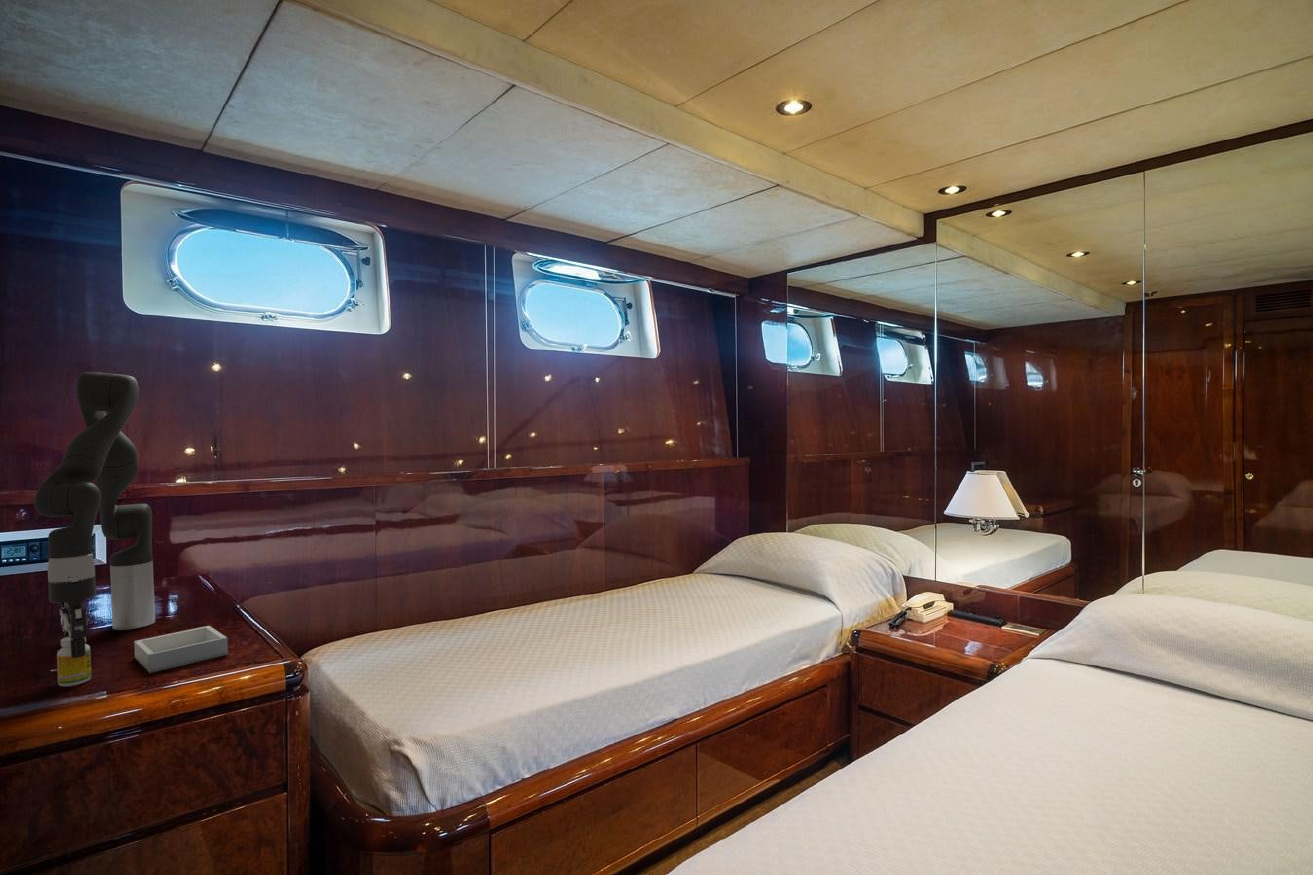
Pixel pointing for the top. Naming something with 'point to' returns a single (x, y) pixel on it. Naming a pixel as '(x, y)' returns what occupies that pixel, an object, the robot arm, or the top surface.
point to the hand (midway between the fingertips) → (75, 652)
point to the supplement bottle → (73, 665)
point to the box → (180, 648)
